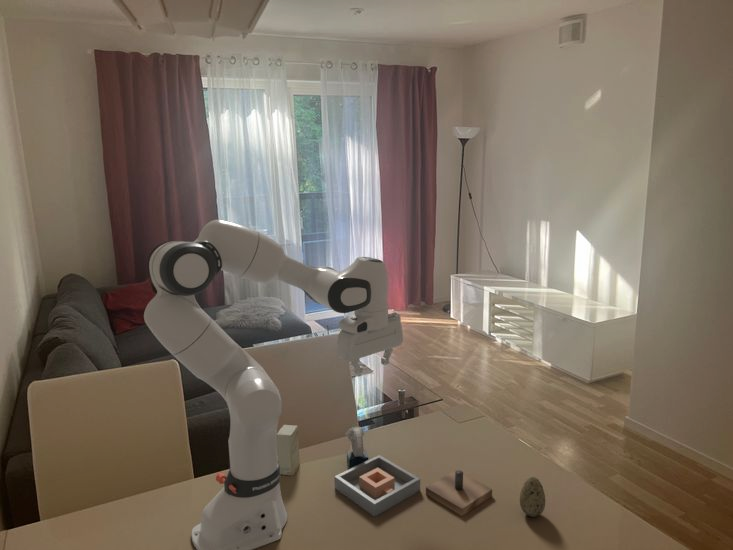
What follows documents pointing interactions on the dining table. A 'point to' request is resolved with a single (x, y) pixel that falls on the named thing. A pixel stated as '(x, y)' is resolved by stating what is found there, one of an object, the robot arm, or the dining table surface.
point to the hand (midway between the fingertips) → (372, 368)
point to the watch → (356, 447)
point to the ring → (377, 489)
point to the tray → (403, 482)
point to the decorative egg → (532, 497)
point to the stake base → (459, 492)
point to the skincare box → (288, 449)
